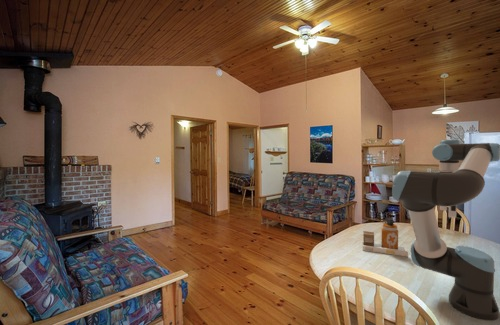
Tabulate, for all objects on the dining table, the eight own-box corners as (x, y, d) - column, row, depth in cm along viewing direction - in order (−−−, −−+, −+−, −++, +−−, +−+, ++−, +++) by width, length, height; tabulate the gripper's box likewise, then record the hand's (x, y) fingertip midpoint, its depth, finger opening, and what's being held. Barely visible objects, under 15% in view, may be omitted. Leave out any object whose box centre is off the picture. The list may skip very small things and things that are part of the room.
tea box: (374, 249, 154) (374, 235, 154) (363, 247, 157) (363, 234, 156) (373, 245, 160) (373, 232, 159) (363, 244, 162) (363, 231, 162)
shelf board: (407, 258, 143) (408, 251, 143) (362, 252, 153) (362, 245, 153) (403, 249, 156) (403, 242, 156) (362, 243, 166) (362, 238, 166)
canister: (384, 252, 149) (384, 220, 148) (378, 245, 160) (378, 215, 159) (400, 253, 148) (400, 220, 146) (393, 246, 159) (394, 215, 157)
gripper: (468, 174, 108) (467, 221, 109) (449, 169, 131) (448, 208, 132) (447, 173, 111) (446, 219, 112) (432, 168, 134) (431, 207, 135)
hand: (447, 213), depth 122 cm, fingers open, 13 cm apart
